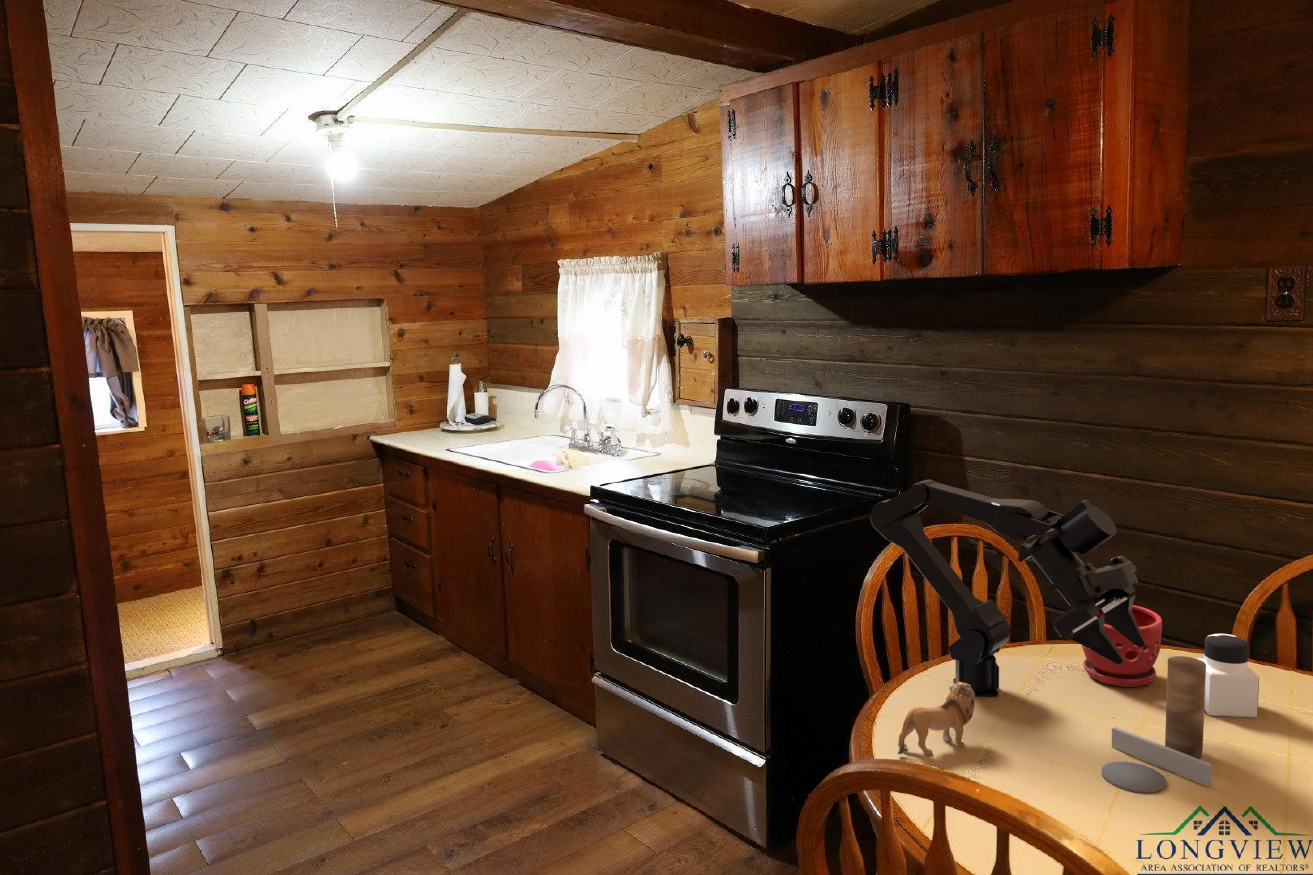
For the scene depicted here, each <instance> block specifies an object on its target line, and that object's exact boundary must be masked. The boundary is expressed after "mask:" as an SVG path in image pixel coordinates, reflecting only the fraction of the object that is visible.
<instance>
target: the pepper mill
mask: <svg viewBox="0 0 1313 875" xmlns="http://www.w3.org/2000/svg"><path fill="white" fill-rule="evenodd" d="M1195 658H1196V657H1191V656H1181V655H1178V656H1177V655H1175V656H1170V657H1168V659H1167V672H1166V674H1167V675H1166V680H1167V681H1166V704H1165V705H1166V706H1165V708H1166V709H1165V732H1164V734H1165V736H1164V737H1165V738H1164V746H1166V747H1169V748H1171V749H1174V750H1176V751H1179V752H1181V753H1184V754H1187V755H1189V756H1192V757H1194V758H1197V759H1200V760H1202V758H1203V753H1204V752H1203V750H1204V749H1203V748H1204V747H1203V746H1204V731H1205V730H1204V726H1205V710H1204V705H1205V680H1206V664H1205V663H1204V662H1203V661H1201V660H1198V659H1195Z"/></svg>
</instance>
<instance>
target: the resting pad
mask: <svg viewBox="0 0 1313 875" xmlns="http://www.w3.org/2000/svg"><path fill="white" fill-rule="evenodd" d="M1101 776H1102V777H1103V779H1104V780H1105V781H1106V782H1108V783H1109V784H1111V785H1113V786H1115V787H1117V788H1120V789H1122V790H1125V791H1127V792H1132V793H1133V792H1134V793H1140V794H1154V793H1158V792H1159V793H1160V792H1161V791H1164V789H1165V788H1166V786H1167V779H1166V778H1165V776H1164V775H1163V774H1162V773H1161V772H1160V771H1158V770H1156V769H1154V768H1152V767H1150V766H1147V765H1145V764H1142V763H1137V762H1132V761H1112V762H1108V763H1106V764H1105V765H1103V766H1102V768H1101Z"/></svg>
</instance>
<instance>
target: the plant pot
mask: <svg viewBox="0 0 1313 875" xmlns="http://www.w3.org/2000/svg"><path fill="white" fill-rule="evenodd" d="M1132 612H1133V614H1134V617H1135V620H1136V622H1137V624H1138V627H1139V629H1140V631H1141V634H1142V636H1143V638H1144V641H1145V643H1146V644H1145V645H1144V646H1143V647H1141V648H1139V647H1138V646H1136V645H1135V644H1134V643H1132V642H1131V641H1129V640H1128V639H1127V638H1126V637H1124V636H1123V635H1122V634H1120V633H1119V632H1118V631H1117V630H1115V629H1114V628H1113V627H1111V626H1110V625H1109V624H1108V623H1106V622H1105V621H1104V629H1105V631H1106V633H1107V634H1108V636H1109V637H1110V639H1111V640H1112V642H1113V643H1114V645H1115V647H1116V648H1117V650H1118V651H1119V653H1120V655H1121V656H1122V658H1123V660H1124V661H1123V662H1122V663H1120V664H1116V663H1114V662H1112V661H1110V660H1109V659H1107V658H1105V657H1103V656H1102V655H1100V654H1098V653H1096V652H1095V651H1093V650H1091V649H1089V648H1087V647H1085V646H1083V645H1081V647H1082V651H1083V654H1084V657H1085V658H1084V660H1083V663H1082V664H1083V665H1082V666H1083V668H1084V670H1085V672H1086V673H1087V674H1088V675H1089V676H1090V677H1092V678H1093V679H1094V680H1097V681H1099V682H1101V683H1104V684H1108V685H1111V686H1115V687H1116V686H1117V687H1124V688H1125V687H1126V688H1129V687H1130V688H1132V687H1140V686H1141V687H1142V686H1145V685H1147V684H1149V683H1151V682H1152V681H1154V679H1155V678H1156V677H1157V676H1156V675H1157V670H1156V668H1155V667H1154V665H1155V663H1156V661H1157V660H1158V657H1159V654H1160V652H1161V646H1162V645H1161V643H1162V642H1161V640H1162V634H1163V620H1162V617H1161V616H1160V615H1159V614H1158V613H1156V612H1154V611H1153V610H1151V609H1148V608H1146V607H1142V606H1140V605H1139V606H1138V605H1134V604H1133V606H1132ZM1103 614H1104V612H1103V611H1102V612H1101V613H1099V614H1098V615H1097V616H1096V617H1097V618H1099V616H1101V615H1103Z"/></svg>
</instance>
